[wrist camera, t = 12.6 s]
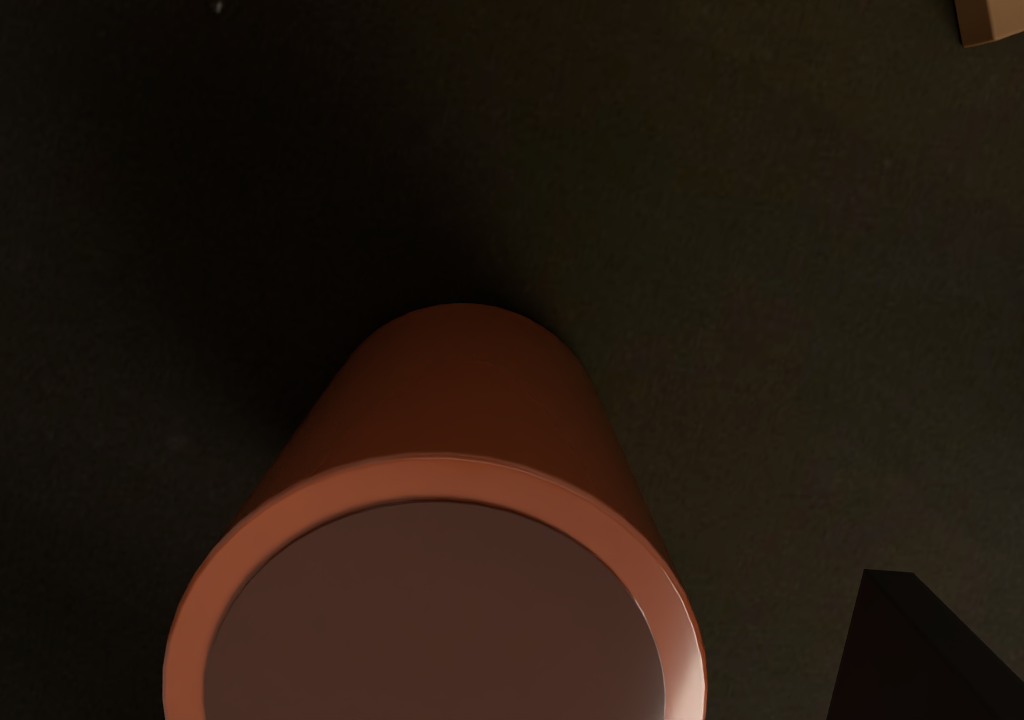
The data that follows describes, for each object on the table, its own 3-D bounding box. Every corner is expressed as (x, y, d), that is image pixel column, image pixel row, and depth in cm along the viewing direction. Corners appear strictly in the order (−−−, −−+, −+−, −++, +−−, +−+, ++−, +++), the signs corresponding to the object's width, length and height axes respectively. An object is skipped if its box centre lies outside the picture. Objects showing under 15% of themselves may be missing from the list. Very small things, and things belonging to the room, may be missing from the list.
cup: (277, 358, 19) (56, 565, 9) (552, 261, 19) (618, 373, 9) (384, 600, 21) (291, 985, 11) (638, 518, 21) (771, 843, 11)
